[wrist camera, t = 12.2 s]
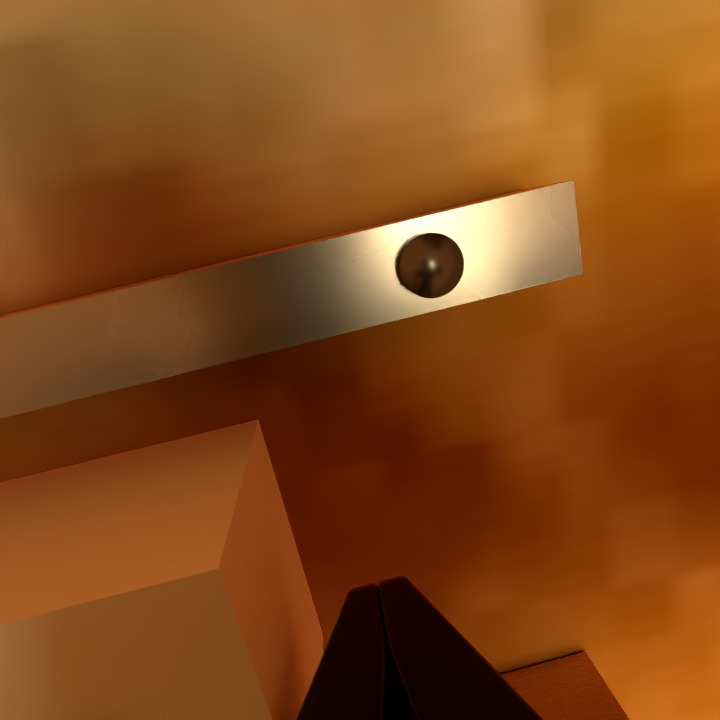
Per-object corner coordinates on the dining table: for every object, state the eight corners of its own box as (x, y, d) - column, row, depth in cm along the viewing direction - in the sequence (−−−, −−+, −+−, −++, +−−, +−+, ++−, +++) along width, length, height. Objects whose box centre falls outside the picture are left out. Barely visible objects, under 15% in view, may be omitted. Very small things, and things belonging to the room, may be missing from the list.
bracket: (591, 696, 11) (697, 873, 8) (-195, 913, 10) (-401, 1193, 7) (524, 189, 8) (653, 166, 5) (-577, 454, 7) (-1177, 607, 4)
